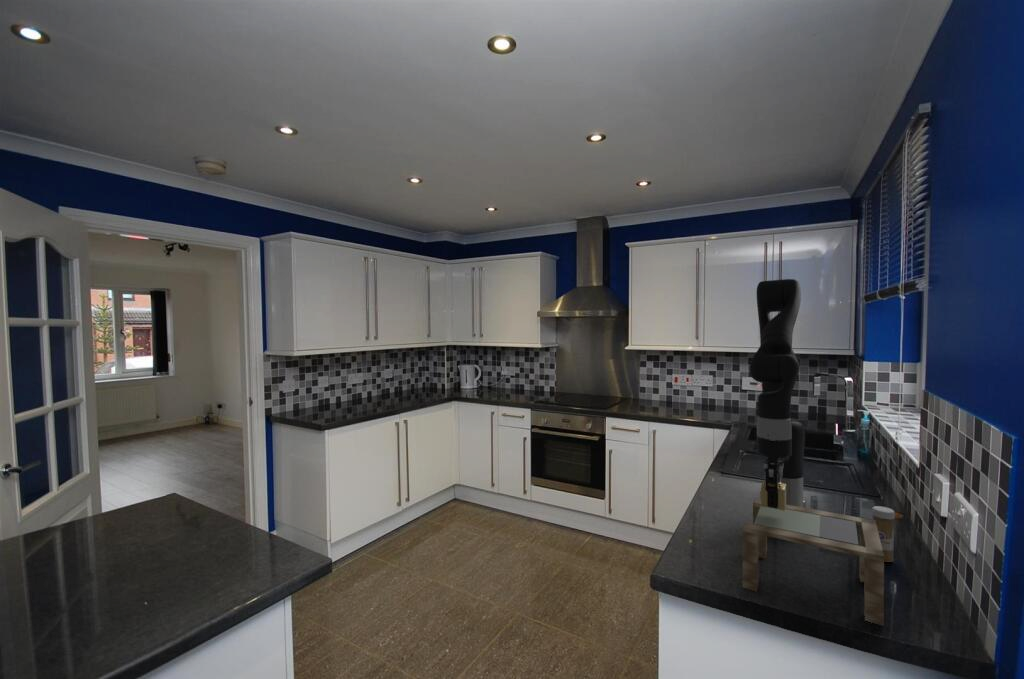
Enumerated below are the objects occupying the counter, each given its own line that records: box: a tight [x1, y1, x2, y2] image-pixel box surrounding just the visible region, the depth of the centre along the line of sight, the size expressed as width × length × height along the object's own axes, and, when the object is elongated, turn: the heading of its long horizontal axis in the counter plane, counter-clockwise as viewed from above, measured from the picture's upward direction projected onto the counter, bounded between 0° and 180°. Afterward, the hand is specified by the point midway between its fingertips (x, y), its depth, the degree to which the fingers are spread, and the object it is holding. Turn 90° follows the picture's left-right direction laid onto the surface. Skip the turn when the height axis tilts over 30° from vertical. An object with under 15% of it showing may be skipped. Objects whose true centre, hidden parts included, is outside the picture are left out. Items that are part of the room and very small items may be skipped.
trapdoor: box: [754, 506, 860, 562], centre depth 111 cm, size 20×14×4 cm
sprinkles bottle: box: [871, 505, 896, 563], centre depth 121 cm, size 5×5×14 cm
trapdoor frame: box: [742, 498, 885, 627], centre depth 110 cm, size 26×21×14 cm
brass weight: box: [760, 480, 786, 511], centre depth 114 cm, size 5×5×5 cm
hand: (773, 503), depth 114 cm, fingers closed on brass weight, 5 cm apart
